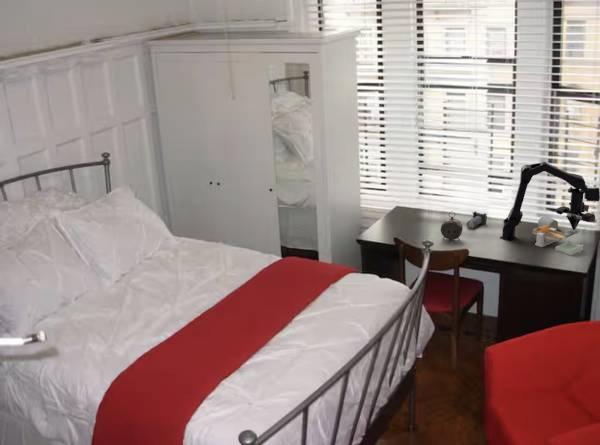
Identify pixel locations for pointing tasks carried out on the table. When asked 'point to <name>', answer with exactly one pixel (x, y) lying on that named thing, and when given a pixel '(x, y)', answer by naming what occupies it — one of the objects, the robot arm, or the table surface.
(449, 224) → the alarm clock
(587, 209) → the robot arm
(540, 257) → the table surface
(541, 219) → the ceramic mug
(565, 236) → the lever
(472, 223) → the camera
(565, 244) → the tray
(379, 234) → the table surface
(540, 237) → the stand
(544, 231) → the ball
